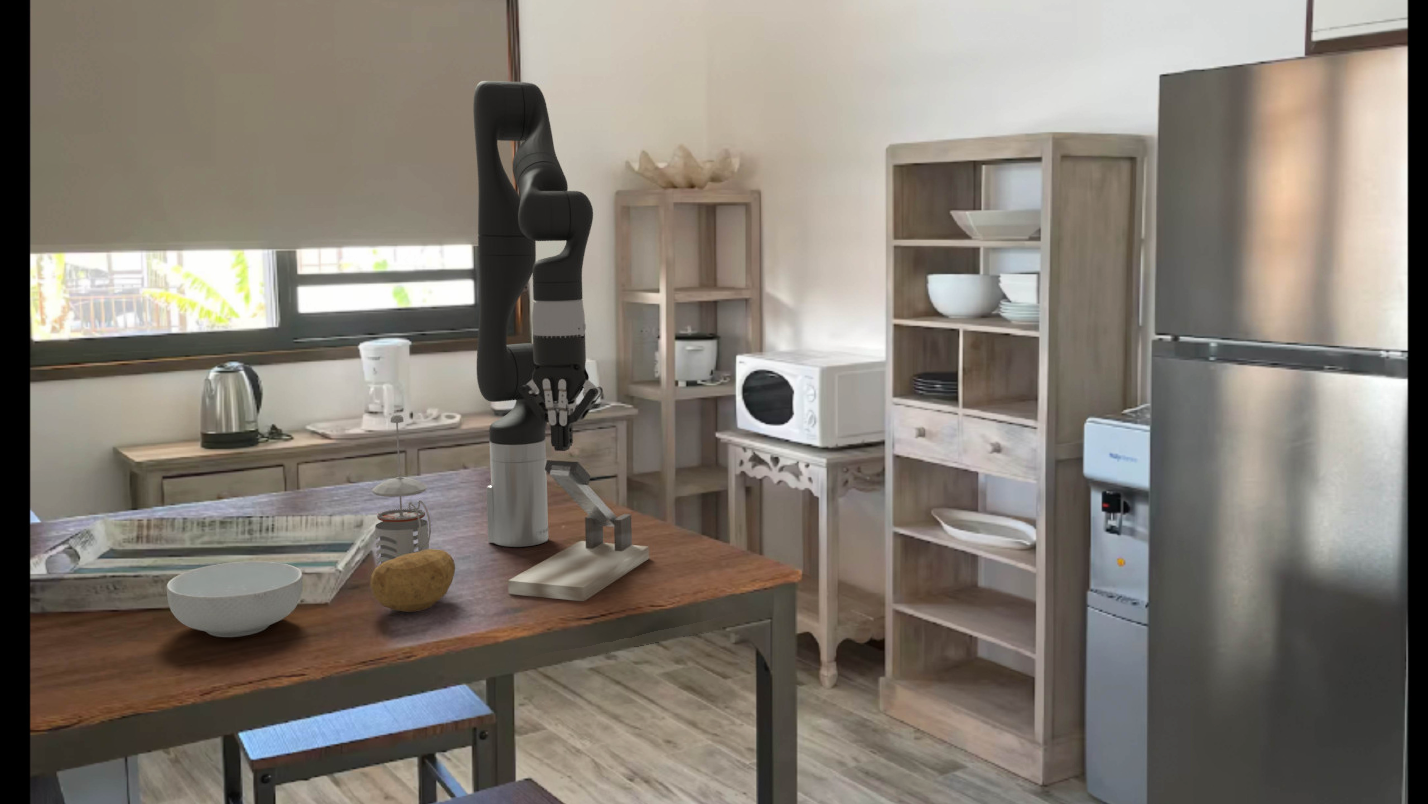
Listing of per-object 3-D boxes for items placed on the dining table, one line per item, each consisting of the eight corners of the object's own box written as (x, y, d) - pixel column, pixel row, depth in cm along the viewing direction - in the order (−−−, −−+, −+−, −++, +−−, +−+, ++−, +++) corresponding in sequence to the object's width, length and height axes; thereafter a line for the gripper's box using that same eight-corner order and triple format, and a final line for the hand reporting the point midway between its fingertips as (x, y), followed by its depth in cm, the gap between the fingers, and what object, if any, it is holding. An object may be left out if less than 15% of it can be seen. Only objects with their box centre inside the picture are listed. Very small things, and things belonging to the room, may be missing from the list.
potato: (476, 599, 183) (474, 544, 182) (410, 627, 171) (408, 569, 170) (422, 590, 188) (420, 537, 187) (354, 617, 175) (352, 560, 174)
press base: (508, 593, 186) (507, 546, 185) (580, 552, 208) (579, 510, 207) (583, 601, 182) (582, 553, 181) (648, 558, 204) (648, 515, 203)
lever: (543, 474, 187) (547, 460, 188) (594, 526, 204) (597, 513, 205) (574, 476, 185) (578, 461, 186) (623, 529, 203) (626, 516, 204)
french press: (414, 564, 202) (407, 407, 199) (456, 578, 194) (449, 415, 191) (358, 576, 196) (350, 414, 192) (398, 591, 187) (391, 423, 184)
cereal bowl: (170, 656, 161) (166, 601, 160) (168, 619, 176) (165, 569, 175) (311, 637, 167) (308, 585, 166) (298, 603, 182) (295, 555, 181)
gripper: (505, 332, 183) (509, 452, 186) (589, 334, 179) (592, 456, 181) (530, 328, 190) (533, 443, 193) (611, 330, 186) (614, 447, 188)
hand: (562, 449), depth 187 cm, fingers closed
